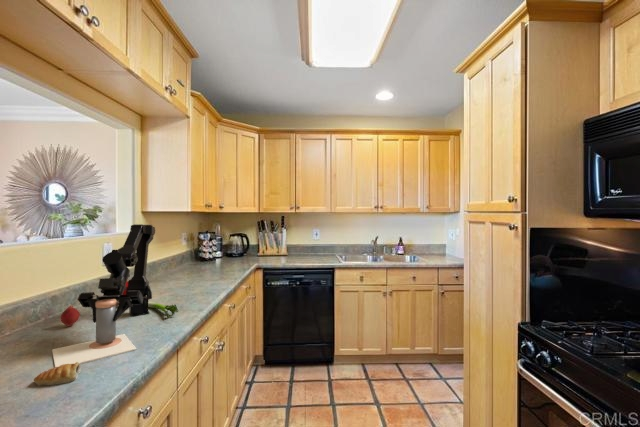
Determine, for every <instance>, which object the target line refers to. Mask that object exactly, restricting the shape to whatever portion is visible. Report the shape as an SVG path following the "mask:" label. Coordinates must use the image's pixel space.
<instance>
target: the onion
mask: <svg viewBox="0 0 640 427" xmlns="http://www.w3.org/2000/svg"><path fill="white" fill-rule="evenodd" d="M80 315H81V314H80V311H79V310H78V309H77V308H75V307H74V306H73V304H72V305H69V306H68V307H67V308H66V309H65V310H64V311H63V312H61V315H60V322H61V323H62V324H63V325H65V326H68V327H72V326H74V324H75V323H77V322H78V321H79V319H80Z"/></svg>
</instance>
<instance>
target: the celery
mask: <svg viewBox="0 0 640 427" xmlns="http://www.w3.org/2000/svg"><path fill="white" fill-rule="evenodd" d="M148 308H150V309H151V308H152V309H156V310H159V311H162V312H164V315H163V317H166V316H167V317H168V319H170V316H169V315H170V314H171V315H175V313H179V309H178V306H177V304H176V303H174V304H170V305H167V304H166V305H163V304H160V303H157V302H154V301H150V300H148ZM168 311H169V312H170V314H169V312H168Z"/></svg>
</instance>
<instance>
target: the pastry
mask: <svg viewBox="0 0 640 427" xmlns="http://www.w3.org/2000/svg"><path fill="white" fill-rule="evenodd" d="M81 372H82V368H81V364H79V363H78V362H76V363H75V364H63V365H61V366H59V367H55V366H54V367H53V368H49V369H48V370H45V371H43V372H40V373H39V374H38V375H36V376H35V377H33V381H34V383H35V385H37V386H54V385H62V384H67V383H72V382H75V381H76V380H77V379H78V377H79V374H81Z"/></svg>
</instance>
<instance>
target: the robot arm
mask: <svg viewBox="0 0 640 427" xmlns="http://www.w3.org/2000/svg"><path fill="white" fill-rule="evenodd" d="M155 234H156V227H155V226H153V225H152V224H142V223H141V224H137V223H136V224H131V225H130V231H129V233H128V235H127V237H126V239H125V242H124V243H123V245H122V246H121V247H120V248H118V249H112V250H111V252H108V253H106V254H105V255H104V256H102V263H103V265H104V267H105V269H106V270H107V272H108V273H109V274H110V275H109V278H108V277H107V278H99V282H98V287H97V289H100V293H101V294H102V295H98V294H95V292H94V291H89V292H87V291H85V292H81V293H80V294H79V295H78V297H77V301H78V302H79V304H80V305H81V307H83V308H91V311H92V323H93V324H94V323H95V324H96V307H95V305H96V302H97V301H99V300H104V299H116V302H118V301H119V302H118V305H117V306H116V312H115V315H114V319H113V321H114V322H115V321H116V322H117V320H118V319H119V318H120V317H121V316H122V315H123V313H125V312H126V311H128V312H129V314H130V315H131V316H132V317H136V316H141V315H147V314H148V315H149V314H150V311H149V307H148V301H150V300H152V298H153V292H152V289H151V287H150V282H149V281H148V278H147V276H146V275H147V266H148V265H147V264H148V257H149V256H148V255H149V245H150V244H151V242H152V241H153V240H154V236H155ZM133 267H134V269H133V270H134V271H133V276H132V277H131V279H129V278H130V276H131V275H130V273H131V270H130V269H129V268H133ZM127 281H128V287H127V289H126V283H127ZM124 290H126V295H123V292H124Z"/></svg>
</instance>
